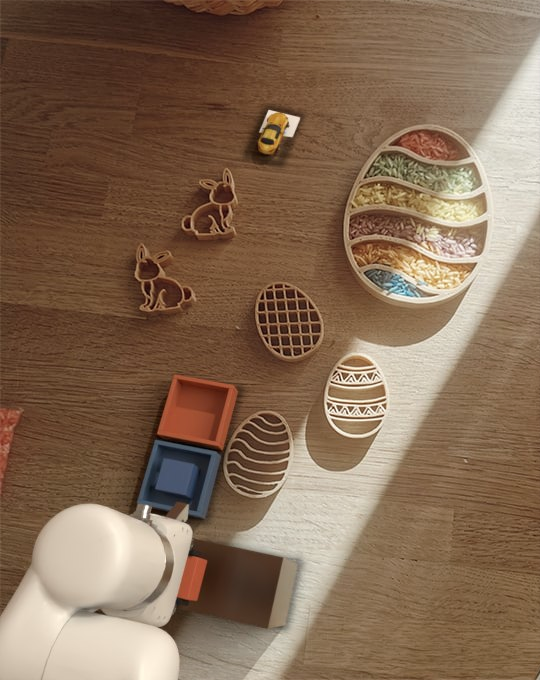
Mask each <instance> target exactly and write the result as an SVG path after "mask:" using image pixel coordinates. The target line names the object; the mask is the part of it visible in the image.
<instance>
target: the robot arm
mask: <svg viewBox="0 0 540 680" xmlns="http://www.w3.org/2000/svg"><path fill="white" fill-rule="evenodd" d="M152 509H153V508H152V507H151V506H148V505H144V504H137V503H136V508H135V510H134V511H133V512H132V513H131V514H129V515H128V514H125V513H123V512H121V511H119V510H116V509H113V508H112V507H108V506H106V505H102V504H97V503H80V504H76V505H75V504H74V505H72V506H70V507H67V508H64V509H63V510H61V511H60V512H58V513H56V514H55V515H54V516H52V517H51V518H50V519H49V520H48V521H47V522H46V523H45V525H44V526H43V527H42V528H41V530H40V531H39V534H38V535H37V538H36V539H35V541H34V545H33V548H32V555H31V563H30V565H29V567H28V568H27V570H26V571H25V574H24V576H23V577H22V578H21V581H20V583H19V584H18V585H17V588H16V590H15V592H14V593H13V595H11V596H12V597H11V598H10V600H9V601H8V603H7V604H6V606H5V608H4V610H3V611H2V612H1V614H0V680H179V675H180V653H179V648H178V645H177V643H176V642H175V640H174V639H173V637H172V636H171V635H170V634H169V633H168V632H167V631H166V630H164V629H162V627H163V626H165V625H167V624H168V623H169V622H170V620H171V617H172V615H174V614H175V613H176V612H178V610H179V609H178V605H183V606H188V604H189V601H188V600H185V599H181V598H178V597H177V594H178V591H179V587H180V583H181V580H182V576H183V572H184V568H185V564H186V561H187V557H188V556H194V557H201V554H202V553H201V552H199V551H196V550H193V548H194V545H195V544H193V542H194V541H193V539H192V538H193V533H194V532H193V529H192V527H191V526H190V523H189V522H188V521H187V520H188V518H189V516H188V509H189V504H186V503H181V502H176V504H175V505H174V506H173V507H172V509H171V510H170V511H169V512H168V511H167V513H166V515H165V516H164V515H160V514H156V513H151V511H152ZM99 610H101V611H102V612H103V613H104V614H102V613H97V612H96V611H99Z"/></svg>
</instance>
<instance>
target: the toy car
mask: <svg viewBox="0 0 540 680" xmlns="http://www.w3.org/2000/svg"><path fill="white" fill-rule="evenodd" d="M300 121H301V116H297V115H296V116H295V115H292V114H288V113H284V112H279V111H275V110H271V109H268V111H267V113H266V115H265V117H264V119H263V122H262V124H261V126H260V129H259V131H258V133H259V134H261V135H260V137H259V139H258V140H257V142H256V146H257V148H258V152H259V153H261V154H263V155H269V156H273V155H274V154H275V153H277V152H279V151H281V147H280V145H281V143H282V139H283V137H286V138H287V137H288V138H293V137H294V135H295V132H296V130H297V128H298V125H299V123H300Z"/></svg>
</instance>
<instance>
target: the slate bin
mask: <svg viewBox="0 0 540 680" xmlns="http://www.w3.org/2000/svg"><path fill="white" fill-rule="evenodd" d="M164 458H166V459H171V460H176V461H181V462H186V463H191V464H194V465H195V466H197V467H198V468H199V469H201V471H200V475H199V478H198V482H197V486H196V489H195V493H194V497H193V500H192V499H187V498H182V497H178V496H173V495H168V494H164V493H162V492H160V491H158V490H156V489H155V487H156V483H157V480H158V476H159V473H160V469H161V466H162V462H163V459H164ZM221 459H222V456H221V455H220V454H219V453H218V452H217V451H216V450H215V451H214V450H209V449H204V448H200V447H194V446H190V445H184V444H181V443H173V442H171V441H170V442H169V441H164V440H159V439H154V442H153V446H152V449H151V453H150V456H149V459H148V463H147V466H146V470H145V473H144V476H143V480H142V484H141V486H140V490H139V494H138V497H137V501H136V505H137V504H144V505H148V506H151V507H152V508H151V509H153V510H159V511H162V512H163V511H164V512H167V513H168V512H169V511H170V510H171V509H172V507H173V506H174V505H175V504H176V502H181V503H186V504H189V509H188V517H192V518H197V519H200V520H201V519H202V520H206V517H207V513H208V510H209V509H208V508H209V505H210V501H211V497H212V494H213V489H214V486H215V481H216V479H217V474H218V470H219V466H220V462H221Z"/></svg>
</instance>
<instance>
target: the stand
mask: <svg viewBox="0 0 540 680" xmlns="http://www.w3.org/2000/svg"><path fill="white" fill-rule="evenodd" d="M192 539H193V541H194V542H193V544H195V545H194V548H193V550H196V551H199V552H201V553H202V554H201V557H199V558H201V559H204V560H207V564H206V568H205V572H204V576H203V580H202V584H201V588H200V591H199V595H198V599H197V601H193V600H188V601H189V604H188V606H183V605H178V609H177V610H183V611H187V612H193V613H195V614H201V615H205V616H209V617H214V618H218V619H222V620H226V621H231V622H237V623H240V624H245V625H248V626H249V625H250V626H254V627H258V628H259V627H260V628H262V629H267V630H268V629H273V628H278V627H279V628H280V627H284V626H286V622H287V618H288V613H289V609H290V604H291V599H292V596H293V590H294V587H295V586H294V585H295V580H296V576H297V572H298V568H299V567H298V566H299V565H298V564H297V563H295V562H293V561H291V560H289V559H287V558H286V557H283V556H278V555H274V554H269V553H264V552H259V551H255V550H250V549H245V548H240V547H236V546H231V545H226V544H223V543H218V542H212V541H209V540H203V539H198V538H194V537H192Z"/></svg>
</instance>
